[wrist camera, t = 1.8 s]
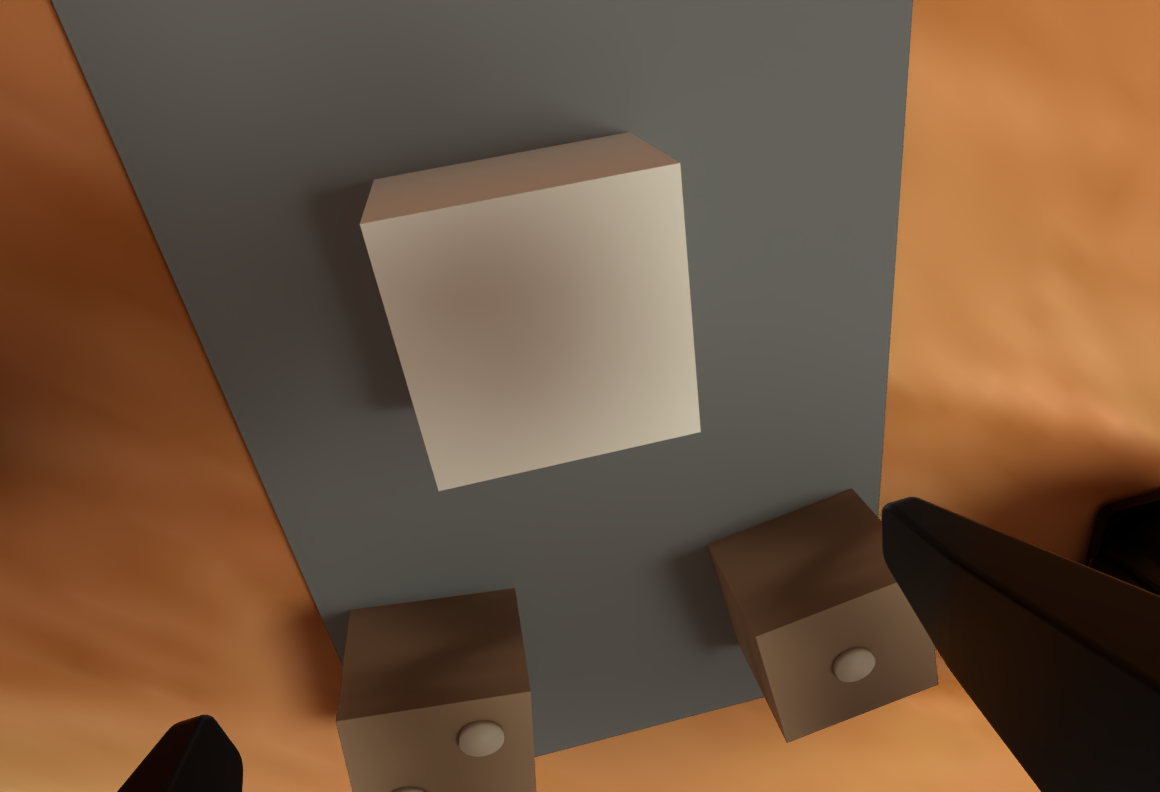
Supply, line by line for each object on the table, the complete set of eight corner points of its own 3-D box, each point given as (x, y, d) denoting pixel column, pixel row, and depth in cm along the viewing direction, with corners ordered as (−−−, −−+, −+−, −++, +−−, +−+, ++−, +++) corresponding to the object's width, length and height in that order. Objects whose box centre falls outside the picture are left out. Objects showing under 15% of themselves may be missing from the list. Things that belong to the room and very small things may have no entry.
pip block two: (515, 588, 23) (531, 697, 19) (522, 698, 25) (537, 814, 22) (350, 609, 22) (335, 728, 19) (373, 721, 25) (363, 846, 21)
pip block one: (852, 488, 24) (929, 576, 20) (870, 594, 26) (942, 689, 22) (707, 544, 24) (758, 642, 20) (739, 644, 26) (789, 748, 22)
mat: (914, -171, 16) (924, -175, 15) (862, 661, 28) (867, 669, 28) (44, -38, 14) (34, -39, 14) (398, 782, 27) (398, 792, 26)
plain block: (628, 132, 17) (680, 162, 14) (653, 358, 20) (700, 432, 17) (374, 179, 17) (359, 224, 13) (436, 405, 20) (438, 491, 16)
